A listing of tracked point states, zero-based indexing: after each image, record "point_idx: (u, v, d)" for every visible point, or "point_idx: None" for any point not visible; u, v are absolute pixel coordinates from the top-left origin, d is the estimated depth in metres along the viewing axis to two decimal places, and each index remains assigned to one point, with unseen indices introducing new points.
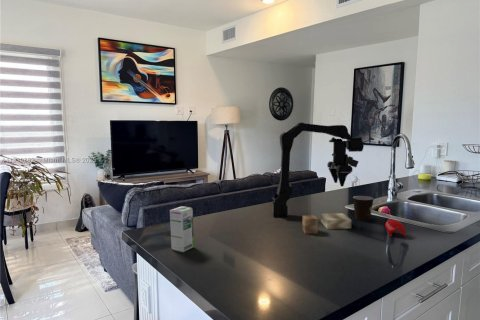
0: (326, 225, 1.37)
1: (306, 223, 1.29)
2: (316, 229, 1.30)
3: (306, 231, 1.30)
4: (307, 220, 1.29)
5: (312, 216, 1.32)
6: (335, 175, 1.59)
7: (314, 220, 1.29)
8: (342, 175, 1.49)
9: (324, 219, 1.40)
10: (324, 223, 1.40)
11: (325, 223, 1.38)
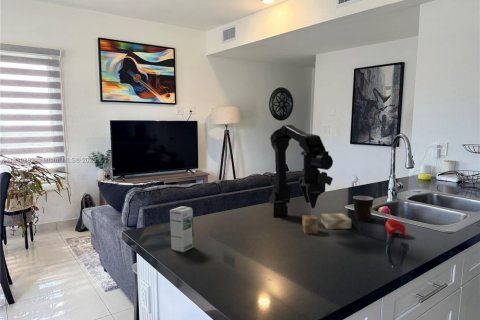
0: (326, 225, 1.37)
1: (306, 223, 1.29)
2: (316, 229, 1.30)
3: (306, 231, 1.30)
4: (307, 220, 1.29)
5: (312, 216, 1.32)
6: (307, 193, 1.36)
7: (314, 220, 1.29)
8: (313, 195, 1.25)
9: (324, 219, 1.40)
10: (324, 223, 1.40)
11: (325, 223, 1.38)
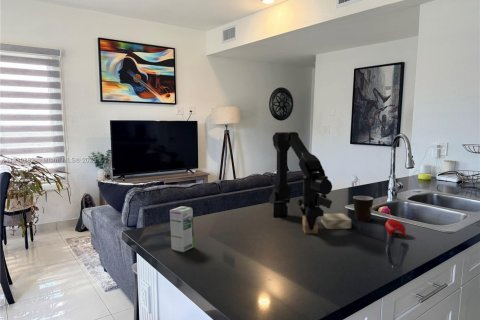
0: (326, 225, 1.37)
1: (306, 223, 1.29)
2: (316, 229, 1.30)
3: (306, 231, 1.30)
4: None
5: None
6: None
7: None
8: (311, 217, 1.28)
9: (324, 219, 1.40)
10: (324, 223, 1.40)
11: (325, 223, 1.38)
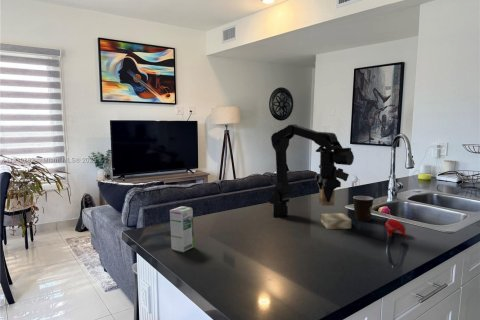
0: (326, 225, 1.37)
1: (323, 195, 1.33)
2: (333, 201, 1.34)
3: (323, 203, 1.34)
4: None
5: None
6: None
7: None
8: (328, 189, 1.32)
9: (324, 219, 1.40)
10: (324, 223, 1.40)
11: (325, 223, 1.38)
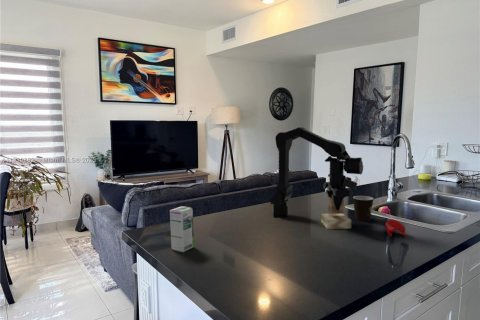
0: (326, 225, 1.37)
1: (333, 204, 1.37)
2: (342, 209, 1.37)
3: (333, 211, 1.37)
4: None
5: None
6: None
7: None
8: (338, 198, 1.35)
9: (324, 219, 1.40)
10: (324, 223, 1.40)
11: (325, 223, 1.38)
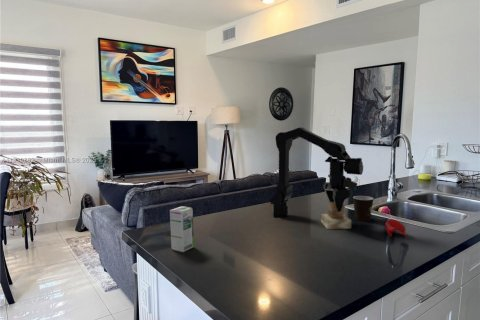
0: (326, 225, 1.37)
1: (333, 208, 1.37)
2: (342, 214, 1.38)
3: (333, 216, 1.38)
4: (334, 206, 1.37)
5: None
6: (332, 198, 1.44)
7: None
8: (339, 199, 1.34)
9: (324, 219, 1.40)
10: (324, 223, 1.40)
11: (325, 223, 1.38)
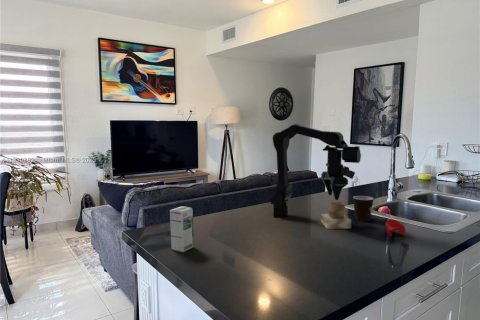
0: (326, 225, 1.37)
1: (333, 209, 1.37)
2: (343, 214, 1.37)
3: (333, 216, 1.37)
4: (334, 206, 1.37)
5: (338, 202, 1.40)
6: (329, 187, 1.45)
7: (341, 206, 1.37)
8: (337, 188, 1.34)
9: (324, 219, 1.40)
10: (324, 223, 1.40)
11: (325, 223, 1.38)
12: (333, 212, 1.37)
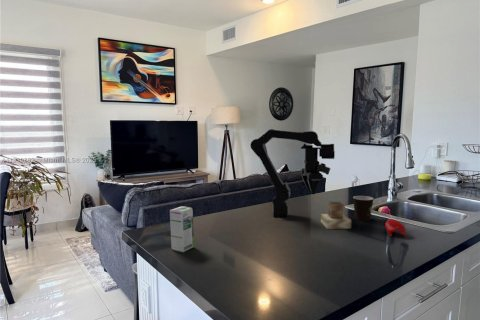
0: (326, 225, 1.37)
1: (332, 208, 1.37)
2: (342, 214, 1.37)
3: (332, 216, 1.38)
4: (333, 205, 1.37)
5: (338, 202, 1.40)
6: (308, 182, 1.55)
7: (340, 206, 1.37)
8: (313, 183, 1.45)
9: (324, 219, 1.40)
10: (324, 223, 1.40)
11: (325, 223, 1.38)
12: (332, 212, 1.38)
